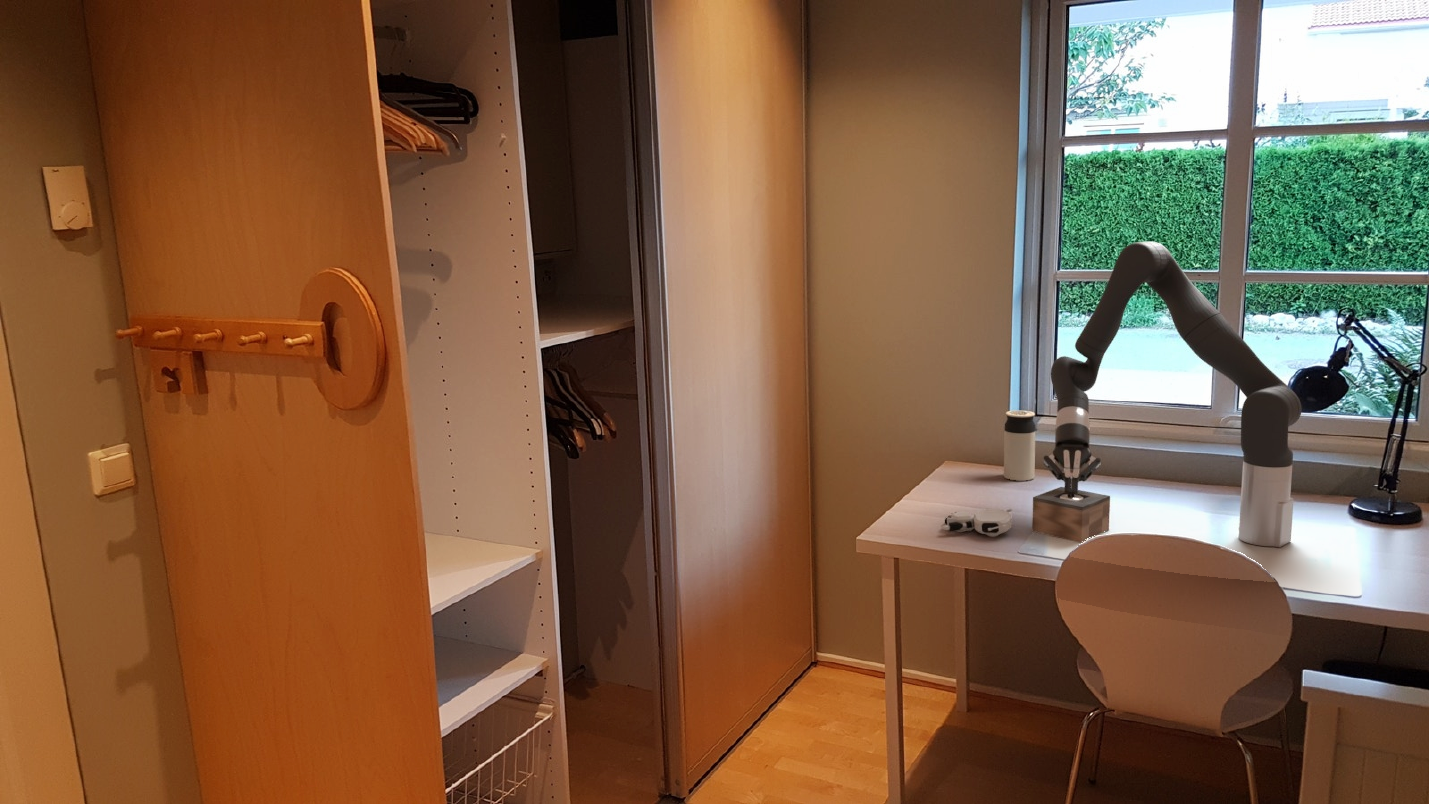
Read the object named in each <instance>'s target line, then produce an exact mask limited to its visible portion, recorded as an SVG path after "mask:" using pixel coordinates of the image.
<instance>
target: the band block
mask: <svg viewBox="0 0 1429 804" xmlns="http://www.w3.org/2000/svg"><path fill="white" fill-rule="evenodd" d="M1064 489H1065V486H1059V487H1057V488H1054V489H1051V490H1048V491H1046V492H1043V493H1040V494H1038V495H1035V496H1033V497H1032V530H1031V531H1032V532H1035V533H1039V534H1043V535H1047V536H1051V537H1056V538H1061V539H1065V540H1069V541H1074V542H1078V543H1081V542H1082V541H1084V540H1085V539H1087V538H1089V537H1092V536H1094V535H1097V536H1099V535H1102V534H1104V533H1105V532H1104V531H1106V532H1109V531H1110V511H1111V509H1110V508H1111V495H1107V494H1101V493H1097V492H1091V491H1086V490H1082V489H1081V490H1080V489H1078V493H1077V495H1079V496H1082V497H1083V499H1082V500H1079V501H1077V502H1076V501H1071V500H1066V499H1061V498H1060V496H1061V495H1065V492H1064ZM1074 495H1076V494H1074ZM1084 542H1085V541H1084ZM1082 543H1083V542H1082Z"/></svg>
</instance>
